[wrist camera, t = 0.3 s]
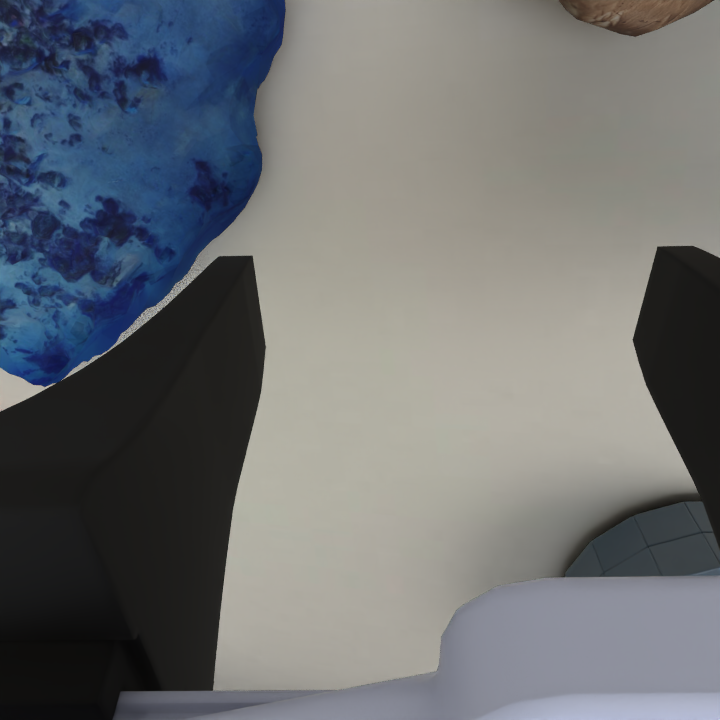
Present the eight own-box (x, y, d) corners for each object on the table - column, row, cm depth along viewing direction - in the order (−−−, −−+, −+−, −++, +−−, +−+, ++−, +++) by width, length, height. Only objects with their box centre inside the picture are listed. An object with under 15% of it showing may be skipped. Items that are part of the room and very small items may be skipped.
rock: (-361, 9, 19) (-429, 14, 18) (127, -399, 15) (99, -441, 14) (8, 393, 26) (-16, 423, 24) (415, 179, 22) (420, 197, 20)
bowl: (639, 684, 34) (670, 765, 31) (510, 578, 30) (528, 657, 27) (837, 583, 30) (898, 663, 27) (717, 450, 27) (769, 523, 23)
